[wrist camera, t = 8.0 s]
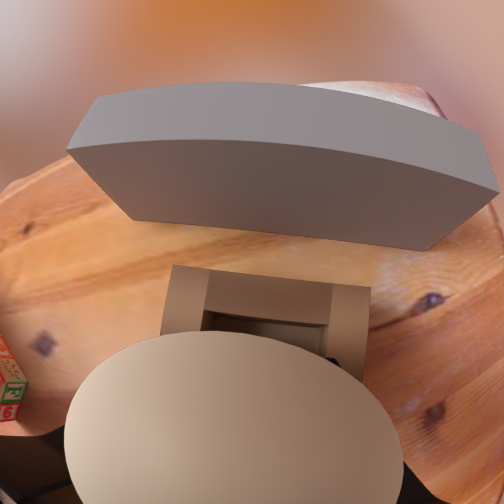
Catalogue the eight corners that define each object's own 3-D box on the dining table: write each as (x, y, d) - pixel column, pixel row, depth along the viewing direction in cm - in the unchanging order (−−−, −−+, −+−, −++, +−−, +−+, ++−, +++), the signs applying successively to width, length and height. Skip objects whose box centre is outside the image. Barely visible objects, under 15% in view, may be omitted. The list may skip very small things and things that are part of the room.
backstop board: (423, 251, 17) (500, 192, 9) (132, 219, 19) (65, 149, 11) (418, 204, 18) (478, 133, 10) (147, 175, 21) (96, 97, 12)
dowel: (306, 354, 14) (456, 393, 2) (278, 416, 13) (300, 601, 1) (240, 328, 15) (121, 267, 3) (213, 390, 14) (51, 500, 2)
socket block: (327, 449, 13) (342, 474, 9) (172, 427, 14) (147, 447, 10) (348, 299, 16) (370, 287, 13) (193, 281, 17) (172, 264, 14)
